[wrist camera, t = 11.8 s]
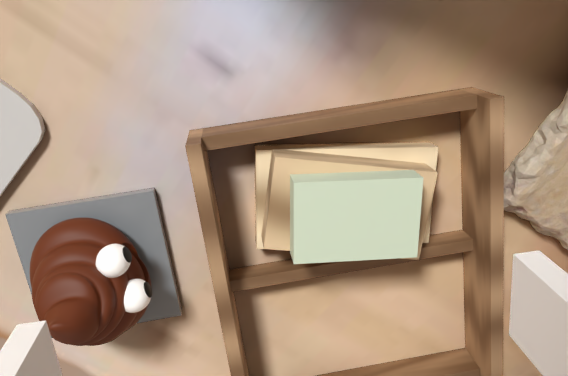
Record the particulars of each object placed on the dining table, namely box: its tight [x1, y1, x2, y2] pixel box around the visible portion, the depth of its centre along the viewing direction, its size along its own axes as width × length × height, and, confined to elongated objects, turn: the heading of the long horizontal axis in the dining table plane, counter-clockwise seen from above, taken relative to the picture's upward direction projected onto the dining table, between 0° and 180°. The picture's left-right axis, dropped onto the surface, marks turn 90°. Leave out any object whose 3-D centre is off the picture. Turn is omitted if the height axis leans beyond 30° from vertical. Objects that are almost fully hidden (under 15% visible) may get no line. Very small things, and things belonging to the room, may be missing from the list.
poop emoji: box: [30, 218, 152, 346], centre depth 37 cm, size 10×8×9 cm
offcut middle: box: [261, 149, 438, 260], centre depth 40 cm, size 7×12×2 cm, turn 83°
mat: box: [6, 188, 182, 338], centre depth 42 cm, size 11×11×1 cm
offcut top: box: [290, 170, 423, 264], centre depth 38 cm, size 6×9×2 cm, turn 90°
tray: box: [185, 87, 504, 376], centre depth 42 cm, size 25×22×5 cm
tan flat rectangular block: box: [255, 142, 438, 249], centre depth 42 cm, size 8×14×2 cm, turn 89°
